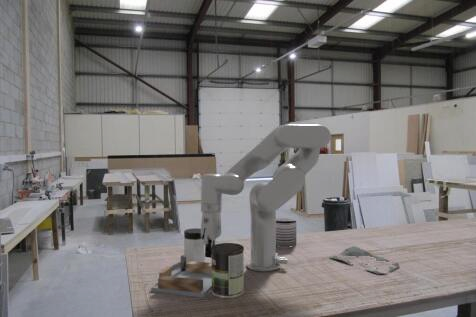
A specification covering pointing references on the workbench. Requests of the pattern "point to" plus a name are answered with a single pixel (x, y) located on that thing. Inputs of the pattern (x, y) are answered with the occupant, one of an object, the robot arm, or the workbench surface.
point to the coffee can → (227, 270)
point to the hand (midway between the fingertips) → (209, 256)
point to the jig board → (183, 274)
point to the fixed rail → (180, 284)
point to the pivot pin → (183, 263)
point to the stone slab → (360, 252)
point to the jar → (194, 245)
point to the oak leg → (199, 267)
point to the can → (285, 232)
